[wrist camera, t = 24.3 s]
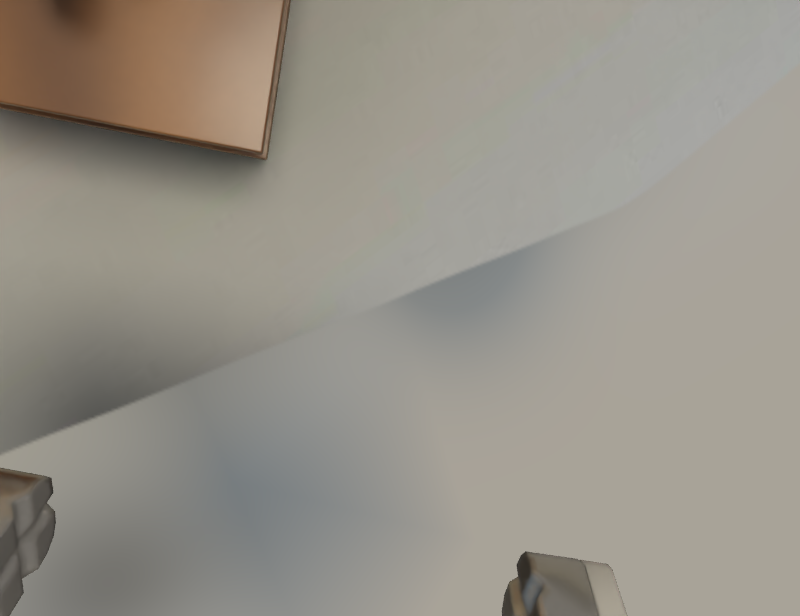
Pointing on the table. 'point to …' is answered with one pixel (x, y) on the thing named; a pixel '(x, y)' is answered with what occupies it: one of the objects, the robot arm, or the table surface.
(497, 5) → the table surface
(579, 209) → the table surface
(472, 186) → the table surface
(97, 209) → the table surface
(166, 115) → the shelf
